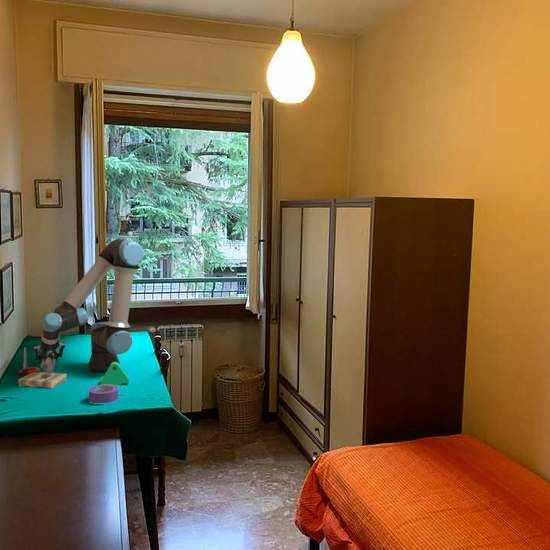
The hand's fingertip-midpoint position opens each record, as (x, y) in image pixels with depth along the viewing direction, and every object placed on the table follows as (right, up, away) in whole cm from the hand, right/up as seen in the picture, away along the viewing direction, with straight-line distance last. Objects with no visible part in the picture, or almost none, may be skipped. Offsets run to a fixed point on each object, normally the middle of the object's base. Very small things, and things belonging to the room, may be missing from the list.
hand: (47, 364), depth 260 cm
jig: (+4, -6, -15) cm, 17 cm away
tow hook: (-9, -4, +2) cm, 10 cm away
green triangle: (+37, -6, -14) cm, 40 cm away
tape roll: (+38, -9, -36) cm, 53 cm away
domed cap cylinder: (+2, -4, -3) cm, 5 cm away
